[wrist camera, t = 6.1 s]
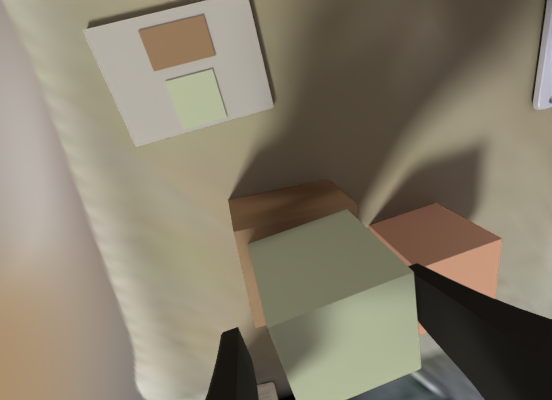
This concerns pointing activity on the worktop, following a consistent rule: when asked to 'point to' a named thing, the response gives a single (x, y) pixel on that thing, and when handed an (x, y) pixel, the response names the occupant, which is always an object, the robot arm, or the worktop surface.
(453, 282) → the robot arm
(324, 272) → the sage block
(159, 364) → the worktop surface
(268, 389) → the syrup box
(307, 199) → the walnut block
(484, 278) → the terracotta block
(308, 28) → the worktop surface
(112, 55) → the card
